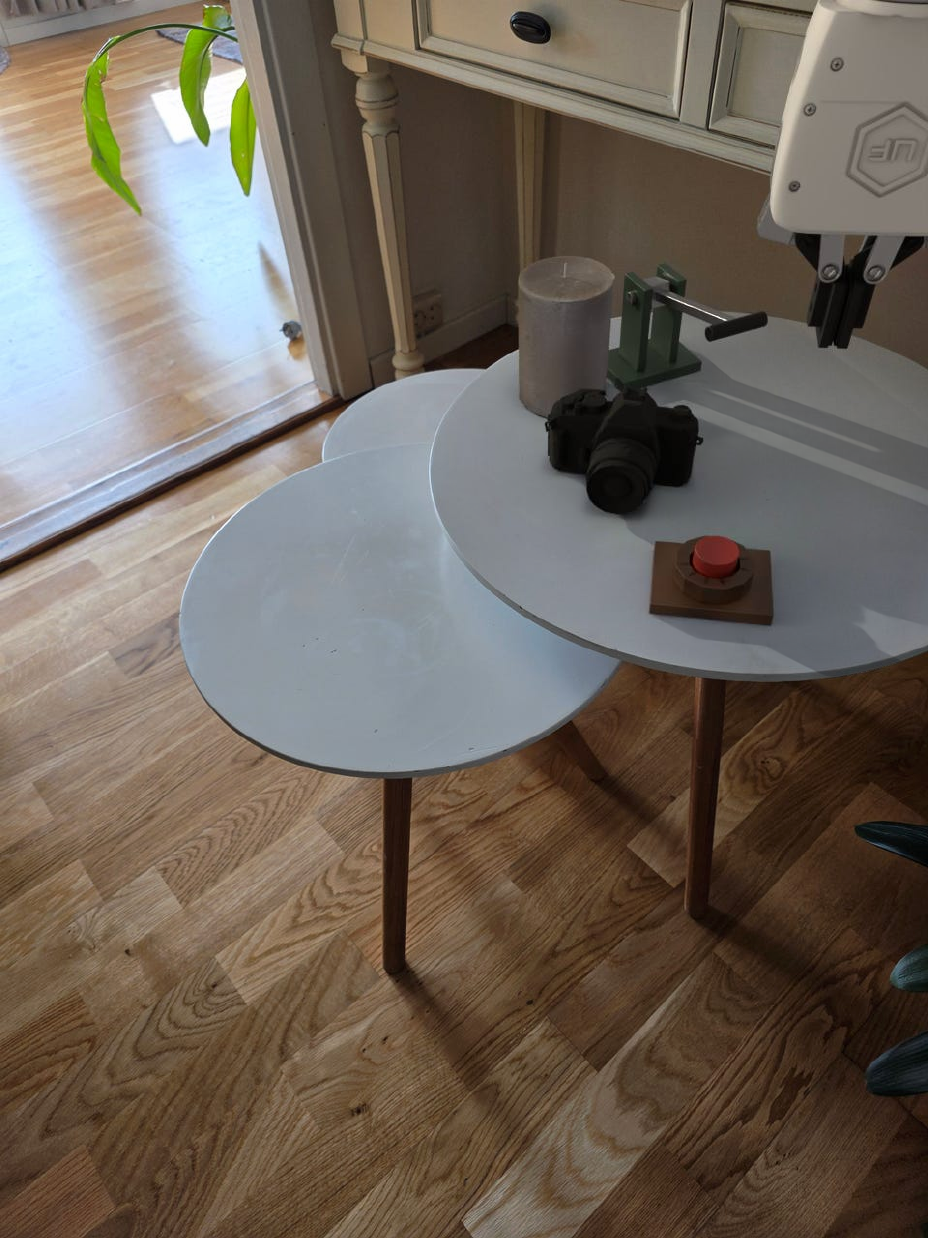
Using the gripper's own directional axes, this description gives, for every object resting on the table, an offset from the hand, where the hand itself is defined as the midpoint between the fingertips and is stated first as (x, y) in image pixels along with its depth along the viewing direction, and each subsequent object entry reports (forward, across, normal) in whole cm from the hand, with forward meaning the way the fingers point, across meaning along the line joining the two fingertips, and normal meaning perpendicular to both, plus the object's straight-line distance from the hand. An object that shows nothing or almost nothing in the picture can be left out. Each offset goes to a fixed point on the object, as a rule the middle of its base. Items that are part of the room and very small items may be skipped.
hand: (830, 336), depth 52 cm
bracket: (+27, -11, +40) cm, 50 cm away
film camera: (+27, -12, +18) cm, 35 cm away
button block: (+27, -3, +6) cm, 28 cm away
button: (+25, -3, +6) cm, 25 cm away
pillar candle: (+27, -20, +34) cm, 48 cm away
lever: (+18, -7, +34) cm, 39 cm away
